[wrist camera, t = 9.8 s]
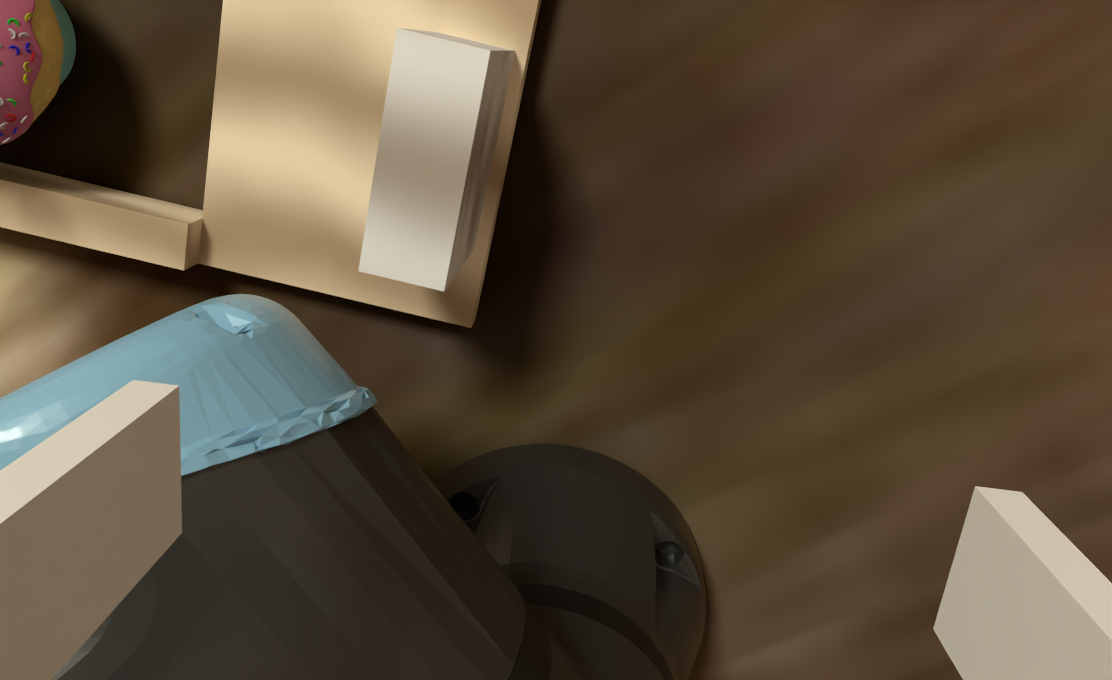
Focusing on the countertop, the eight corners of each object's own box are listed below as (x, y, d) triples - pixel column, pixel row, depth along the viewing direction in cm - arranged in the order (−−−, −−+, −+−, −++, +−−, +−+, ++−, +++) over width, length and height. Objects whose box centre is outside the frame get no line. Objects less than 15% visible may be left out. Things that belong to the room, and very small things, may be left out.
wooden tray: (475, 319, 39) (439, 387, 31) (-101, 183, 38) (-283, 217, 31) (549, -40, 34) (530, -67, 26) (-109, -199, 34) (-327, -274, 26)
